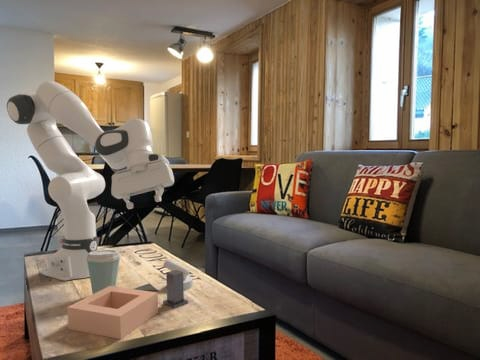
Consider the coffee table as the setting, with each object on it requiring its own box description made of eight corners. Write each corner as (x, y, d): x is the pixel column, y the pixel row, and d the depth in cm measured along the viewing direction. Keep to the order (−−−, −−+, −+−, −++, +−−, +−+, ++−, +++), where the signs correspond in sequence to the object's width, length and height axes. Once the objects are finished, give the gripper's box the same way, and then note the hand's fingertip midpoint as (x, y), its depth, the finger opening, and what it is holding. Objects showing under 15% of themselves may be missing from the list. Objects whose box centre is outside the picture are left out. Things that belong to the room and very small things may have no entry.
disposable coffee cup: (86, 292, 132) (85, 248, 130) (120, 288, 136) (118, 245, 135) (88, 304, 122) (86, 256, 121) (124, 299, 126) (122, 252, 125)
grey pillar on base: (163, 304, 122) (162, 272, 121) (176, 299, 126) (176, 268, 125) (173, 308, 118) (173, 276, 117) (187, 303, 122) (187, 271, 121)
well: (68, 328, 106) (67, 307, 105) (110, 304, 122) (109, 285, 121) (121, 339, 100) (120, 316, 99) (157, 312, 116) (157, 292, 115)
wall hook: (168, 255, 142) (195, 256, 140) (169, 281, 143) (195, 282, 141) (159, 262, 134) (187, 263, 132) (159, 289, 134) (187, 291, 132)
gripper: (106, 169, 126) (108, 209, 121) (165, 152, 123) (170, 194, 118) (116, 175, 132) (118, 215, 127) (173, 160, 129) (178, 200, 123)
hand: (144, 204), depth 122 cm, fingers open, 8 cm apart
